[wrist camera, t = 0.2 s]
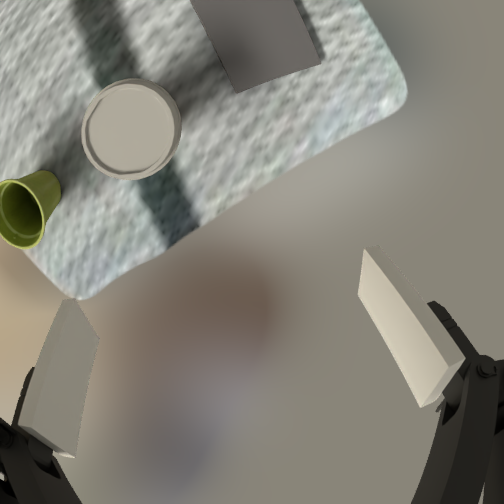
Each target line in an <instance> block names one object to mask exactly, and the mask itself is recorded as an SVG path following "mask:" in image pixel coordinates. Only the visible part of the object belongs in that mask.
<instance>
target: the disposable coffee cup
mask: <svg viewBox="0 0 504 504" xmlns="http://www.w3.org/2000/svg"><path fill="white" fill-rule="evenodd" d="M181 130H182V123H181V116H180V112H179V109H178V107H177V104H176V102H175V101H174V100H173V98H172V97H171V96H170V94H169V93H168V92H167V91H166V90H165V89H163V88H162V87H161V86H159V85H158V84H156V83H154V82H152V81H148V80H144V79H125V80H121V81H117V82H115V83H113V84H111V85H109V86H107V87H106V88H104V89H103V90H102V91H100V92H99V93H98V94H97V95H96V96H95V98H94V99H93V100H92V102H91V103H90V105H89V106H88V108H87V111H86V113H85V116H84V119H83V123H82V130H81V136H82V144H83V147H84V151H85V153H86V155H87V157H88V159H89V160H90V162H91V163H92V164H93V165H94V166H95V167H96V168H97V169H98V170H99V171H101V172H102V173H104V174H106V175H108V176H111V177H113V178H118V179H122V180H136V179H141V178H145V177H147V176H150V175H152V174H154V173H156V172H157V171H159V170H160V169H161V168H163V167H164V166H165V165H166V164H167V163H168V162H169V160H170V159H171V158H172V156H173V155H174V153H175V151H176V149H177V147H178V144H179V141H180V138H181Z"/></svg>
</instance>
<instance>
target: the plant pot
mask: <svg viewBox="0 0 504 504" xmlns="http://www.w3.org/2000/svg"><path fill="white" fill-rule="evenodd" d="M60 198H61V189H60V183H59V181H58V179H57V178H56V176H55V175H54V174H52V173H51V172H49V171H44V170H40V171H37V172H34V173H32V174H29V175H27V176H24V177H22V178H20V179H7V180H4V181H2V182H0V235H1V237H2V238H3V239H4V240H5V241H6V242H8V243H9V244H10V245H12V246H14V247H17V248H20V249H30V248H33V247H34V246H36V245H37V244H38V243H39V242H40V240H41V239H42V237H43V234H44V231H45V225H46V222H47V220H48V219H49V217H50V215H51V214H52V212H53V211H54V209H55V208H56V206H57V204H58V203H59V201H60ZM35 199H36V200H35Z"/></svg>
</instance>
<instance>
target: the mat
mask: <svg viewBox="0 0 504 504" xmlns="http://www.w3.org/2000/svg"><path fill="white" fill-rule="evenodd" d="M190 2H191V4H192V5H193V7H194V9H195V11H196V13H197V15H198V17H199V19H200V21H201V23H202V25H203V26H204V28H205V30H206V32H207V34H208V36H209V38H210V40H211V42H212V44H213V46H214V48H215V50H216V52H217V54H218V56H219V58H220V60H221V62H222V65H223V67H224V69H225V71H226V73H227V75H228V77H229V79H230V81H231V83H232V85H233V88H234V90H235V92H236V93H240V92H242V91H244V90H247V89H249V88H252V87H254V86H257V85H260V84H262V83H265V82H268V81H270V80H273V79H276V78H279V77H282V76H285V75H288V74H290V73H294V72H297V71H300V70H303V69H306V68H309V67H313V66H316V65H319V64H321V61H320V59H319V56H318V54H317V51H316V49H315V47H314V44H313V42H312V40H311V37H310V35H309V33H308V31H307V28H306V26H305V24H304V22H303V20H302V17H301V15H300V13H299V11H298V9H297V7H296V5H295V3H294V1H293V0H190Z"/></svg>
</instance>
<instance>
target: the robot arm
mask: <svg viewBox="0 0 504 504" xmlns="http://www.w3.org/2000/svg"><path fill="white" fill-rule="evenodd" d="M358 296H359V298H360V299H361V301H362V303H363V304H364V306H365V308H366V309H367V311H368V313H369V314H370V316H371V318H372V320H373V321H374V323H375V325H376V326H377V328H378V330H379V332H380V333H381V335H382V337H383V339H384V340H385V342H386V344H387V346H388V347H389V349H390V351H391V353H392V355H393V357H394V358H395V360H396V362H397V364H398V366H399V368H400V370H401V371H402V373H403V375H404V377H405V379H406V381H407V383H408V385H409V387H410V388H411V390H412V393H413V394H414V396H415V398H416V400H417V402H418V404H419V406H420V408H421V407H423V406H425V405H427V404H430V403H432V402H434V401H436V399H437V398H438V397H439V396H440V395H441V393H443V395H444V397H445V399H444V400H443V401H442V402H441V404H440V405H439V406H438V408H437V410H436V412H439V410H440V409H441V408H442V409H441V413H440V417H439V421H438V426H437V429H436V433H435V437H434V440H433V444H432V447H431V451H430V454H429V457H428V460H427V463H426V466H425V469H424V472H423V475H422V477H421V480H420V483H419V485H418V488H417V490H416V493H415V495H414V498H413V500H412V502H411V504H478V502H479V499H480V496H481V492H482V489H483V485H484V496H483V504H504V360H498V361H494V360H493V359H492V358H491V357H489V356H486V355H479V354H478V352H477V351H476V350H475V348H474V347H473V345H472V344H471V343H470V341H469V340H468V338H467V337H466V336H465V334H464V333H463V332H462V330H461V329H460V327H458V326H457V323H456V322H455V321H454V319H452V317H451V316H450V314H449V313H448V312H447V310H446V309H445V308H444V307H443V306H441V305H440V304H438V303H437V302H435V301H432V302H429V303H426V302H425V301H424V299H423V298H422V297H421V296H420V294H419V293H418V292H417V290H416V289H415V288H414V287H413V285H412V284H411V283H410V282H409V281H408V279H407V278H406V277H405V276H404V274H403V273H402V272H401V271H400V269H399V268H398V267H397V266H396V265H395V264H394V262H393V261H392V260H391V259H390V258H389V256H388V255H387V254H386V253H385V252H384V251H383V249H382V248H381V247H380V246H378V245H377V246H372V247H367V248H364V252H363V262H362V269H361V277H360V284H359V291H358ZM99 339H100V338H99V336H98V335H97V333H96V332H95V330H94V329H93V327H92V325H91V324H90V322H89V321H88V319H87V317H86V316H85V314H84V313H83V311H82V309H81V308H80V306H79V304H78V302H77V300H76V299H75V298H73V299H67V300H63V301H62V303H61V305H60V307H59V309H58V312H57V314H56V316H55V319H54V321H53V323H52V325H51V328H50V330H49V332H48V335H47V337H46V340H45V342H44V345H43V347H42V350H41V352H40V355H39V358H38V361H37V363H36V366H35V367H32V369H31V370H30V371H29V373H28V374H27V376H26V378H25V381H24V384H23V389H22V390H21V394H20V395H21V396H20V397H19V400H18V403H17V407H16V410H15V414H14V417H13V421H12V424H11V426H10V425H9V424H8V423H6V422H5V421H4V420H3V419H2V418H0V474H2V475H4V481H3V480H1V479H0V504H82V503H81V501H80V499H79V498H78V496H77V495H76V493H75V491H74V490H73V488H72V487H71V485H70V483H69V481H68V480H67V478H66V476H65V474H64V472H63V471H62V469H61V467H60V465H59V463H58V461H57V459H56V458H55V457H54V456H53V455H52V453H53V450H54V451H55V452H57V453H58V454H60V455H62V456H67V457H72V458H76V452H77V445H78V437H79V431H80V425H81V419H82V413H83V408H84V403H85V398H86V393H87V388H88V384H89V379H90V374H91V370H92V366H93V362H94V358H95V354H96V350H97V346H98V343H99ZM484 482H485V484H484Z"/></svg>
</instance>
